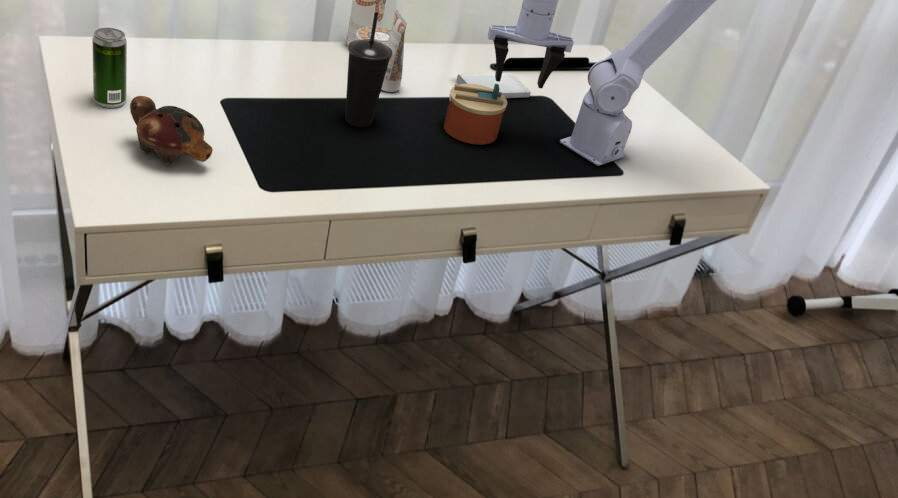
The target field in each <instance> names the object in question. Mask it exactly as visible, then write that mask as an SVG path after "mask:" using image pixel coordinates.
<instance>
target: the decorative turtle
mask: <svg viewBox="0 0 898 498" xmlns="http://www.w3.org/2000/svg"><path fill="white" fill-rule="evenodd" d="M129 111H130V115H131V117H132V120H133V122H134V123H135V125H136V128H135V129H136V136H137V140H138V144H139V148H140V150H141V151H142V152H143V153H145V154H150V153H152V152H155V153H156V155H158V157H159V159H160V160H161V161H162V162H163V163H164V164H168V165H169V164H172V163H173V162H174V161H175V160H176V159H177V157H178V156H181V155H183V156H186V157H188V158H191V159H194V160H196V161H198V162H201V163H204V162H206V161H207V160H209V159H210V158H211V156H212V154H213V151H214V149H213V147H212V145H210V144H209V143H208V142H206V140H205V128H204V126H203V124H202V122H201V121H200V120H199V118H197V117H196V116H195V115H194V114H192V113H191V112H190V111H188V110H186V109H185V108H181V107H178V106H176V105H163V106H160V107H158V108H157V106H156V103H155V101H154V100H153V99H152V98H151V97H149V96H145V95H136V96H135V97H133V99H132V100H130V103H129Z"/></svg>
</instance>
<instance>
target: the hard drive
mask: <svg viewBox="0 0 898 498" xmlns="http://www.w3.org/2000/svg"><path fill="white" fill-rule="evenodd" d="M495 74H496V73H475V74H474V73H466V74H465V73H462V74H458V73H457V75H456V82H457V83H458V85H459V84H477V85H482V86H486V87H489V88H492V89H494V85H495V84H499V89H500V90H499V92H502V95H503V96H504V97H505V98H506V99H519V98H521V99H522V98H530V96H531V93H532V92H531V90H530V89H529V88H528V87H527V86H526V85H525V84H524V83H523V82H522V81H521V80H520V79H519V78H518V77H517V76H516V75H515V74H514V73H502V76H501V80H500V82H497V81H496V79H495Z"/></svg>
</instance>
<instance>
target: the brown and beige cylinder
mask: <svg viewBox="0 0 898 498" xmlns="http://www.w3.org/2000/svg"><path fill="white" fill-rule="evenodd" d="M478 92H485V93H491V94H492V93H493V89H492V88H489V87H486V86H482V85H477V84H459V83H458V84H454V86H452V87H451V88H450V90H449V94H448V97H449V100H448V104H447V109H446V113H445V117H444V121H443V130H444V131H445V133H446V134H448V135H449V136H451V138H453V139H455V140H457V141H460V142H461V143H465V144H470V145H477V146H478V145H479V146H483V145H489V144H492V143H494V142H495V141H496V140H497V139H498V136H499V132H500V128H501V124H502V122H503V118H504V114H505V111H506V109H507V107H508V100H507V98H505V97H504V96H503V95H502V92H499V93H498V97H497V100H496V99H489V98H483V97H479V96H478Z"/></svg>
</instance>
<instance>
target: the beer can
mask: <svg viewBox="0 0 898 498" xmlns="http://www.w3.org/2000/svg"><path fill="white" fill-rule="evenodd" d="M91 39H92V42H91V43H92V84H93V86H92V88H93V93H92V94H93V99H94V102H95V103H96V104H97V105H98V106H99V107H103V108H106V109H114V108H115V109H116V108H120V107H122V106H124V105H125V103H126V101H127V61H128V60H127V59H128V58H127V50H128V49H127V48H128V47H127V46H128V45H127V44H128V43H127V38H126V32H124V31H123V30H121V29H119V28H114V27H99V28H98V29H95V30H94V31H93V36H92V38H91Z"/></svg>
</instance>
